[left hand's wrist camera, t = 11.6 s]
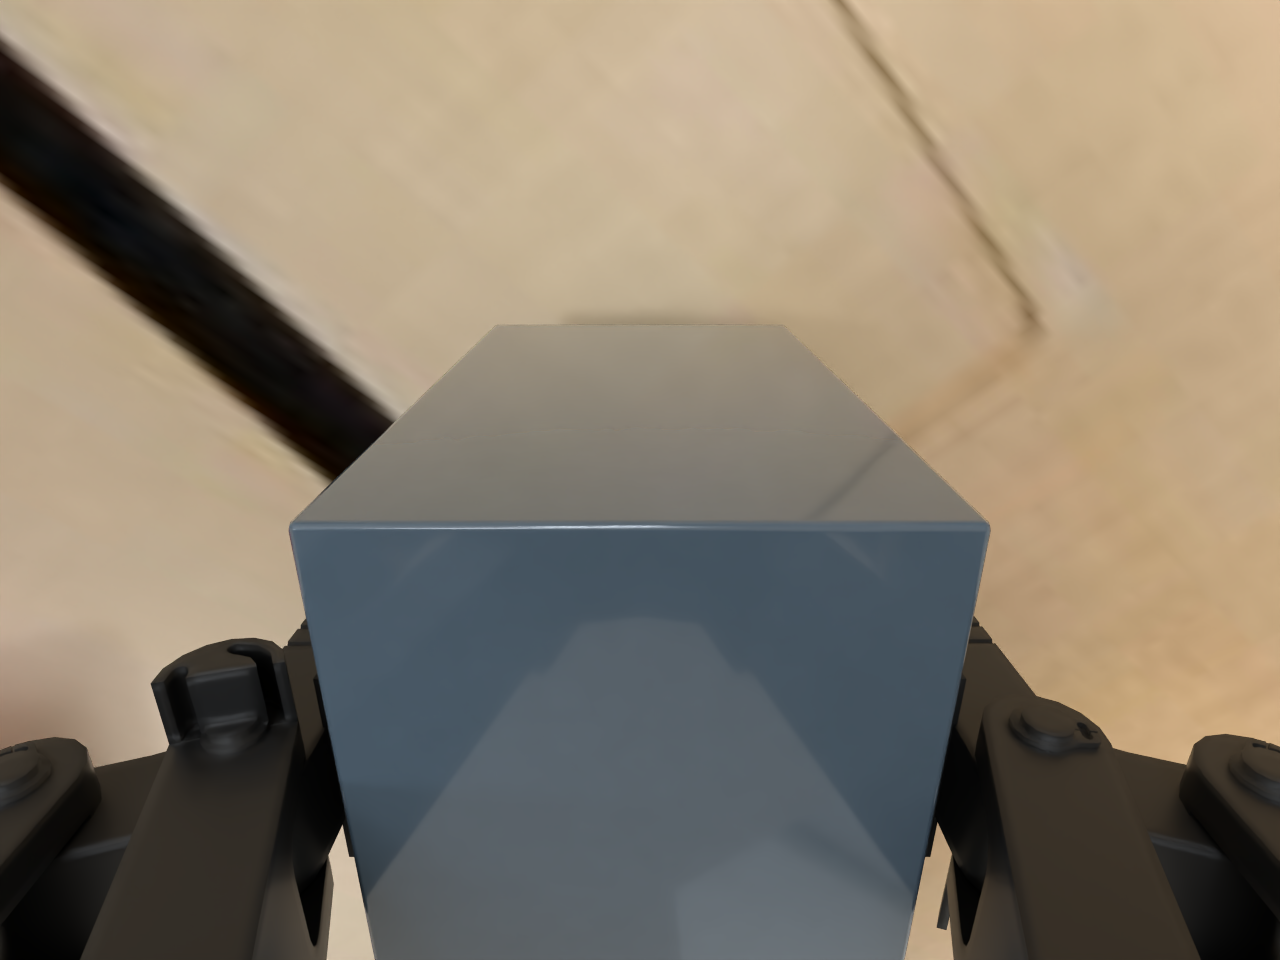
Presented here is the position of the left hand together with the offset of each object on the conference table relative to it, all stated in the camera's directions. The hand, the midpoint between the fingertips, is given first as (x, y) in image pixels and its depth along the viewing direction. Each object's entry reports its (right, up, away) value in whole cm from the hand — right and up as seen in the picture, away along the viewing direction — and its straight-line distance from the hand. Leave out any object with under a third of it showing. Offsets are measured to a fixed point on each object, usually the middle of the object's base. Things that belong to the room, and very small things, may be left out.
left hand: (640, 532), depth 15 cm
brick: (0, +1, +1) cm, 1 cm away
